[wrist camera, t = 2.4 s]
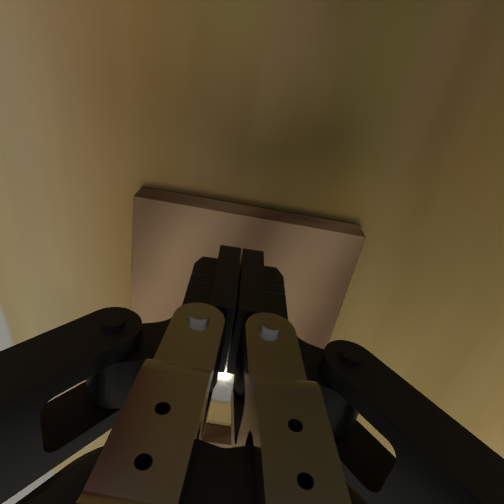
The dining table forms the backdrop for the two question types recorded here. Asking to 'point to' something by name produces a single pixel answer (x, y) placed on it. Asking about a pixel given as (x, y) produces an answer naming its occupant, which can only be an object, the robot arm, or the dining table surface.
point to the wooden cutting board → (242, 236)
